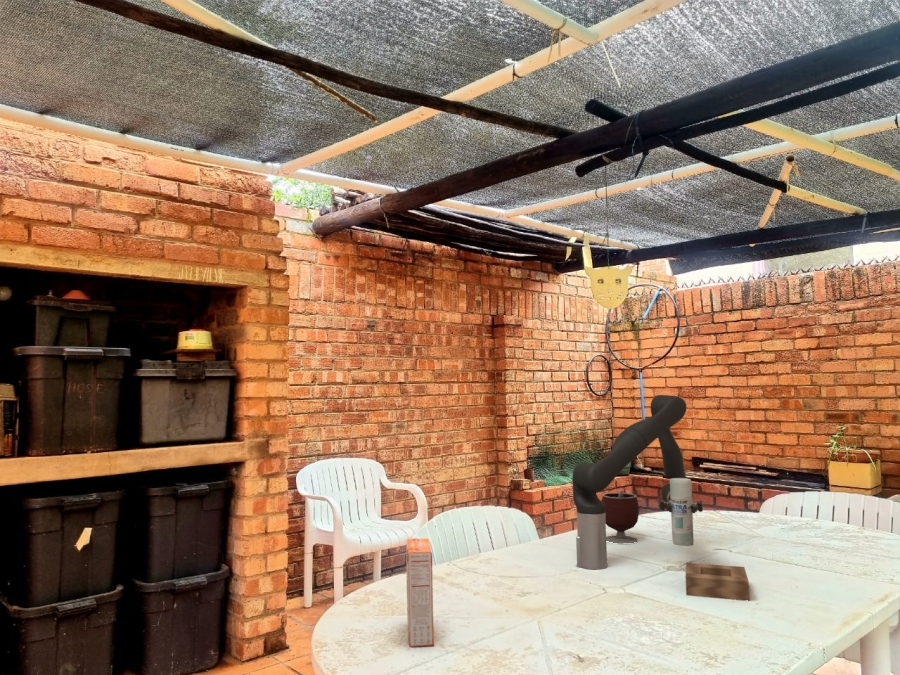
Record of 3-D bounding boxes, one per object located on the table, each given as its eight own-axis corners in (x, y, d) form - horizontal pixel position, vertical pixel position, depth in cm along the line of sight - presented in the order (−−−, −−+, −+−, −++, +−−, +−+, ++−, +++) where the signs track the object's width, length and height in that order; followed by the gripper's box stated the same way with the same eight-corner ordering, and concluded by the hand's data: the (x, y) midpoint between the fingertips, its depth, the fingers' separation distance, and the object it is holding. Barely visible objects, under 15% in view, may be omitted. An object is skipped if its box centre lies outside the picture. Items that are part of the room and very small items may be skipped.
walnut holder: (686, 595, 177) (685, 576, 178) (686, 579, 192) (686, 562, 193) (749, 600, 172) (748, 581, 172) (745, 584, 187) (744, 566, 187)
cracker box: (406, 625, 156) (405, 538, 158) (430, 624, 157) (430, 537, 159) (407, 648, 142) (406, 551, 144) (434, 646, 143) (433, 550, 145)
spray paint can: (668, 544, 201) (666, 479, 203) (677, 540, 206) (674, 477, 208) (689, 547, 197) (686, 481, 199) (697, 543, 202) (694, 479, 203)
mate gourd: (600, 536, 253) (599, 485, 255) (637, 537, 251) (635, 485, 253) (604, 545, 238) (602, 490, 240) (643, 546, 236) (641, 491, 238)
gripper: (656, 488, 218) (657, 496, 203) (701, 490, 214) (706, 498, 198) (657, 511, 218) (658, 520, 202) (702, 513, 214) (707, 522, 198)
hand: (682, 509), depth 200 cm, fingers closed on spray paint can, 6 cm apart
